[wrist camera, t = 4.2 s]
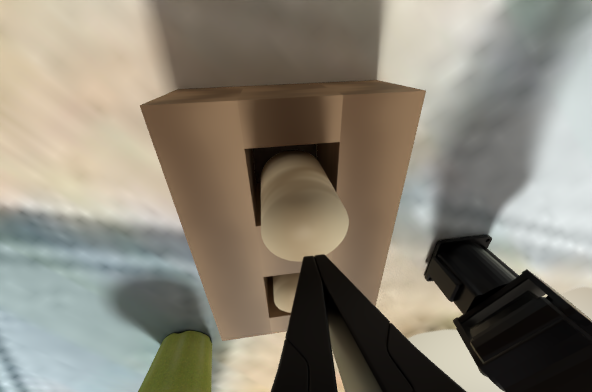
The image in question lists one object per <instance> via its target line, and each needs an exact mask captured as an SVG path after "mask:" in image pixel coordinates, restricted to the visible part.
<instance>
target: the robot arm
mask: <svg viewBox="0 0 592 392" xmlns="http://www.w3.org/2000/svg"><path fill="white" fill-rule="evenodd" d="M491 240H492V238H491V237H490V236H489V235H482V236H473V237H465V238H456V239H448V240H441V241H439V242H438V243H437V245H436V248H435V250H434V253H433V256H432V259H431V261H430V264H429V267H428V269H427V272H426V275H425V279H426V280H427V281H434V282H435V283H436V284H437V286H438V287H439V288H440V290H441V291H442V292H443V293H444V295H445V296H446V297H447V299H448V300H449V301H450V302H454V303H455V304H456V306H457V307H458V308H459V309H460V311H461V312H462V313H463V315H462V316H460V317H459V318H455V319H454V320H453V322H454V324H455V326H456V327H457V328H456V329H457V331H458V332H459V334H460V336H461V338H462V340H463V341H464V343H465V345H466V347H467V348H468V350H469V352H470V354H471V356H472V357H473V359H474V361H475V363H476V364H477V366H478V369H479V371H480V372H481V373H482V374H483V375H484V376H487V377H489V379H490V380H491V381H492V382H493V383H494V384H496V386H498V387H499V388H500V389H501V390H503V391H505V392H592V320H591V319H590V318H588V317H587V316H586V315H584V313H582V312H581V311H580V310H579V309H577V308H576V307H575V306H574V305H573V304H572V303H570V302H569V301H568V300H567V299H565V298H564V297H563V296H562V295H560V294H559V293H558V292H556V291H555V290H554V289H553V288H551V287H550V286H549V285H548V284H546V283H545V282H544V281H542V280H541V279H539V278H538V277H537V276H535V275H534V274H533V273H531V272H530V271H528V270H527V269H526V270H525V271H523V272H522V274H521V275H520V276H519V275H518V274H516V273H515V272H514V271H513V270H512V269H511V268H509V267H508V266H507V265H506V264H505V263H504V262H502V261H501V260H500V259H499V258H498V257H497V256H495V255H494V254H493V253H492V252H491V251H489V250H488V249H487V248H488V246H489V244H490V242H491ZM545 294H547V295H548V296H547V297H546V298H545V297H542V296H544V295H545ZM331 347H332V348H331ZM332 350H333V353H334V357H335V360H336V363H337V366H338V369H339V373H340V376H341V379H342V382H343V386H344V389H345V392H466V391H465V390H464V389H462V388H461V387H460V386H459V385H458V384H457V383H456V382H454V381H453V380H452V379H451V378H450V377H449V376H448V375H446V374H445V373H444V372H443V371H442V370H440V369H439V368H438V367H437V366H436V365H435V364H434V363H433V362H431V361H430V360H429V359H428V358H427V357H426V356H425V355H424V354H423V353H421V352H420V351H419V350H418V349H417V348H416V347H415V346H414V345H413V344H412V343H411V342H410V341H409V340H408V339H407V338H406V337H405V336H404V335H403V334H402V333H401V332H400V331H399V330H398V329H397V328H396V327H395V326H394V325H393V324H392V323H390V321H389V320H388V319H387V318H386V317H385V316H384V315H383V314H382V313H381V312H380V311H379V310H378V309H377V308H376V307H375V306H374V305H373V304H372V303H371V302H370V301H369V300H368V298H367V297H366V296H365V295H364V294H363V293H362V292H361V291H360V290H359V289H358V288H357V287H356V286H355V285H354V284H353V283H352V282H351V281H350V280H349V279H348V278H347V277H346V276H345V275H344V274H343V273H342V272H341V271H340V270H339V269H338V268H337V266H336V265H335V264H334V263H333V262H332V261H331V260H330V259H329V258H328V257H327V256H326V255H324V254H320V255H315V256H304V257H303V260H302V265H301V269H300V274H299V278H298V283H297V287H296V292H295V297H294V301H293V306H292V310H291V315H290V319H289V324H288V328H287V333H286V340H285V341H284V346H283V351H282V355H281V359H280V363H279V367H278V370H277V374H276V377H275V380H274V383H273V386H272V389H271V392H338V391H337V384H336V377H335V369H334V362H333V355H332Z"/></svg>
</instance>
